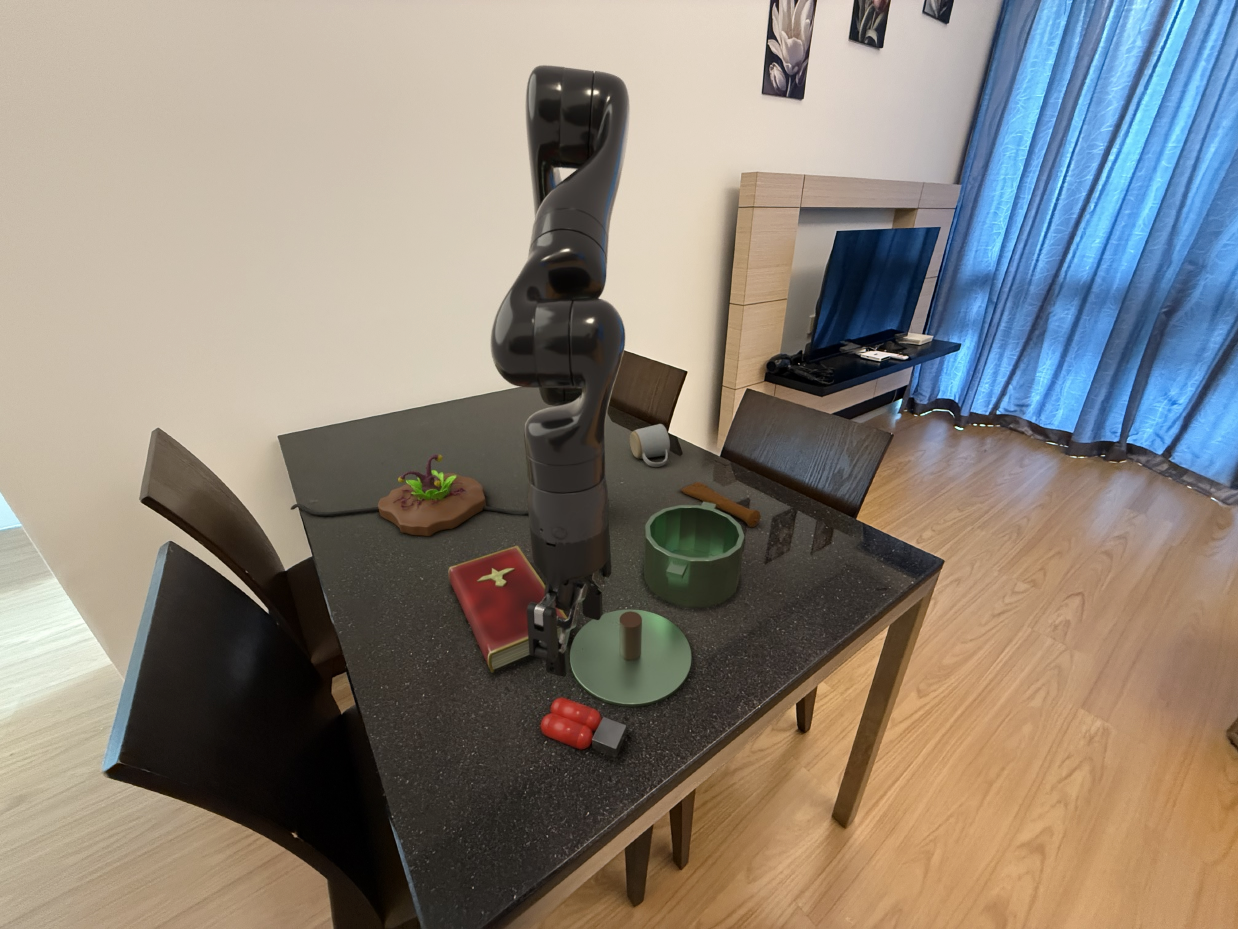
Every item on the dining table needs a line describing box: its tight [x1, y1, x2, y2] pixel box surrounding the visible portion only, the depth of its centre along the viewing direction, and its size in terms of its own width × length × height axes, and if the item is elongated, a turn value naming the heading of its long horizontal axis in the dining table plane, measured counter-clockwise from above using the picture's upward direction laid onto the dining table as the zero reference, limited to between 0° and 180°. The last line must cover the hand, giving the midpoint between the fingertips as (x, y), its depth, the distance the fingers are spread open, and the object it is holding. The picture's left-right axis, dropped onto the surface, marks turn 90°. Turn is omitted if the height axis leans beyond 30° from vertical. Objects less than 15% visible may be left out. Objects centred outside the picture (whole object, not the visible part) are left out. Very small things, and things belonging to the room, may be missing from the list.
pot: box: [643, 501, 745, 608], centre depth 87 cm, size 16×21×10 cm
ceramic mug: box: [629, 423, 671, 468], centre depth 127 cm, size 11×8×8 cm
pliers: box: [540, 697, 627, 759], centre depth 63 cm, size 10×5×3 cm, turn 67°
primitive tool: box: [680, 482, 761, 528], centre depth 108 cm, size 19×6×4 cm, turn 38°
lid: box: [569, 608, 693, 708], centre depth 72 cm, size 17×17×7 cm
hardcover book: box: [447, 545, 569, 674], centre depth 81 cm, size 12×21×4 cm, turn 30°
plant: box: [377, 453, 487, 537], centre depth 107 cm, size 20×20×11 cm
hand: (576, 642), depth 57 cm, fingers open, 8 cm apart
